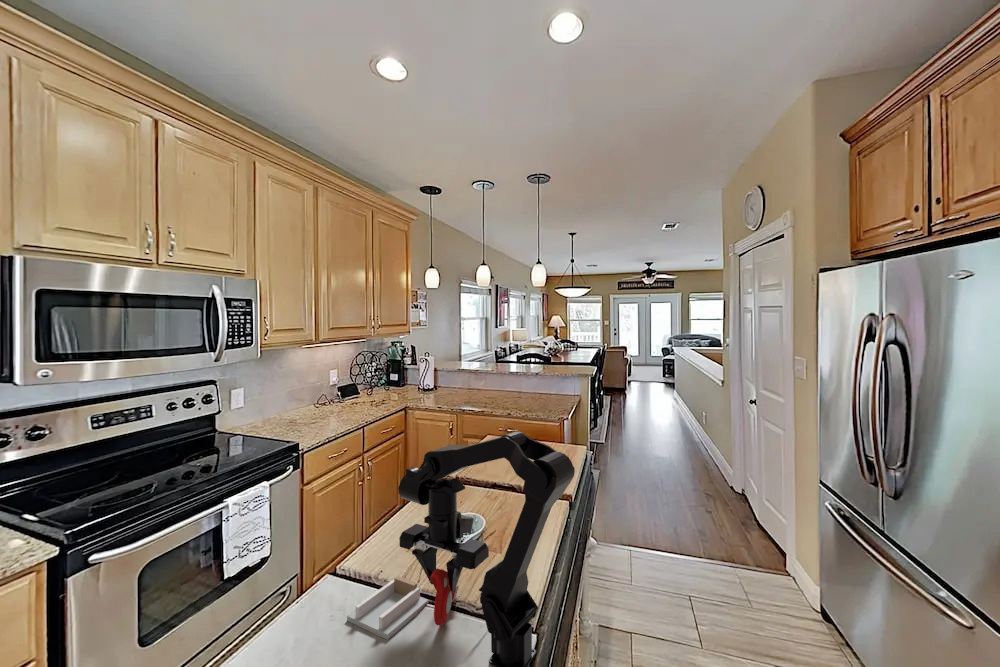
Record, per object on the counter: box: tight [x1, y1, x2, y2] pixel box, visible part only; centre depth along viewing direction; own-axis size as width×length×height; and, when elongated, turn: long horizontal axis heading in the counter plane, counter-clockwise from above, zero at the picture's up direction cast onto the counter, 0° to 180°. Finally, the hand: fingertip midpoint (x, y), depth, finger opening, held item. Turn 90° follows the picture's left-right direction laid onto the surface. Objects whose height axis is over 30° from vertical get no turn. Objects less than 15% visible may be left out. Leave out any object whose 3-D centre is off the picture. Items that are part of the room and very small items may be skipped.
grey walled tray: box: [346, 575, 429, 641], centre depth 88 cm, size 11×12×4 cm
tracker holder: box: [430, 568, 460, 626], centre depth 87 cm, size 12×4×10 cm, turn 168°
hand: (443, 586), depth 87 cm, fingers closed on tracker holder, 5 cm apart
